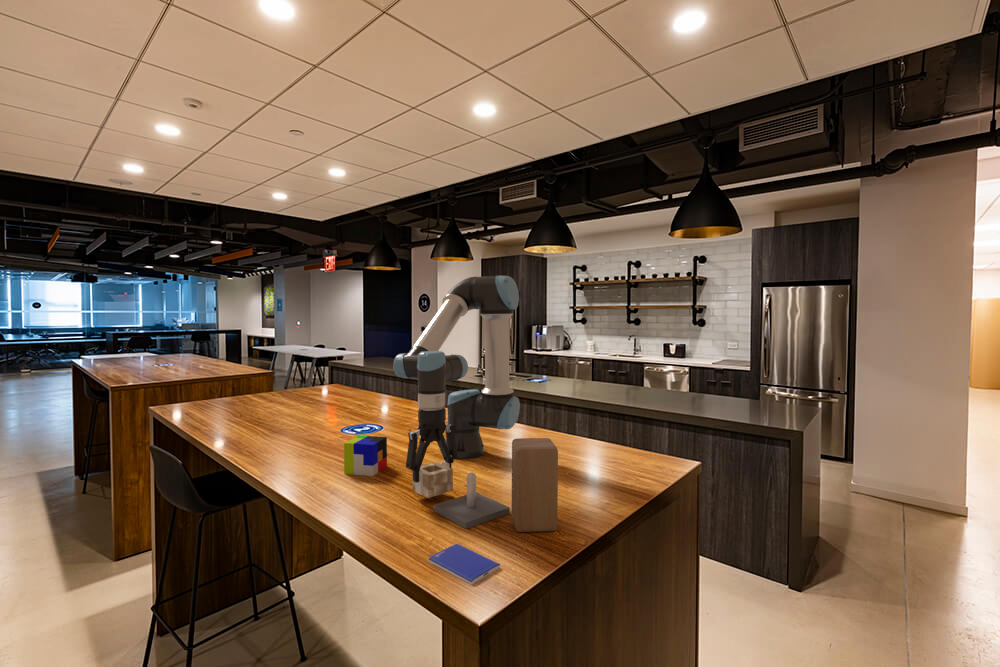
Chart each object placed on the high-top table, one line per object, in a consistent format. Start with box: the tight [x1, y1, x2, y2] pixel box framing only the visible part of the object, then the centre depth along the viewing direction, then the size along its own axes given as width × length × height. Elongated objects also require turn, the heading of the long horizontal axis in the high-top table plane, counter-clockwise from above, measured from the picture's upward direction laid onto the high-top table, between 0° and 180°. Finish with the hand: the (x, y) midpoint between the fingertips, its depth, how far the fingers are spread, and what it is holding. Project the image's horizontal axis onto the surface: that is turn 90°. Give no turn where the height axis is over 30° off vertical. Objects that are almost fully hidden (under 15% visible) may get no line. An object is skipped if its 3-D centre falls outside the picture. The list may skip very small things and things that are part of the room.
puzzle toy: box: [343, 434, 388, 477], centre depth 155 cm, size 10×10×10 cm
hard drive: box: [428, 543, 501, 585], centre depth 96 cm, size 2×8×12 cm
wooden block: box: [511, 437, 559, 533], centre depth 114 cm, size 10×10×20 cm
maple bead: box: [411, 461, 454, 499], centre depth 130 cm, size 8×8×6 cm
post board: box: [432, 472, 511, 530], centre depth 121 cm, size 14×14×10 cm
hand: (432, 488), depth 131 cm, fingers closed on maple bead, 8 cm apart
